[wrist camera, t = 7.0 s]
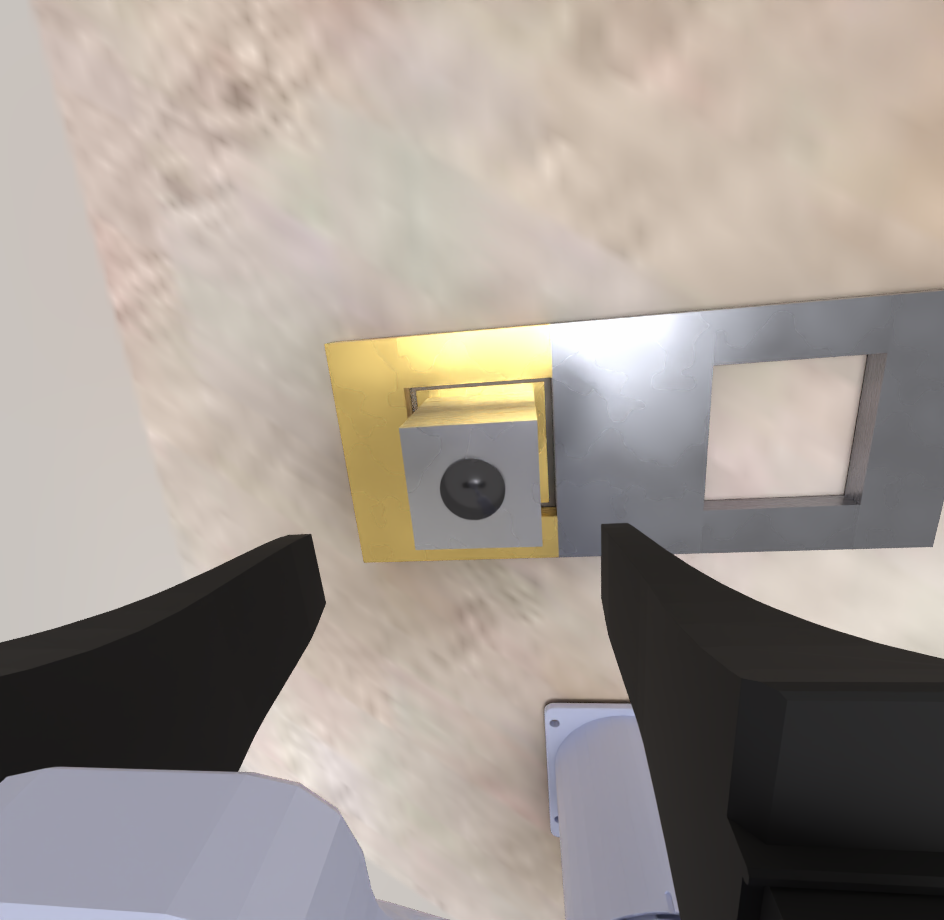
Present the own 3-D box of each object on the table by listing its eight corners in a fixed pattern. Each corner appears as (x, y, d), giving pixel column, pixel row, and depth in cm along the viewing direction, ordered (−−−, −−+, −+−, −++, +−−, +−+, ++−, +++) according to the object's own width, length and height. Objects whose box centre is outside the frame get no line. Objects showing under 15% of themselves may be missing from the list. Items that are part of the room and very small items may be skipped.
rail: (913, 535, 20) (932, 546, 19) (370, 551, 23) (363, 562, 22) (968, 286, 17) (994, 286, 16) (333, 341, 20) (324, 344, 19)
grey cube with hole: (538, 491, 21) (542, 548, 16) (438, 495, 22) (414, 551, 17) (533, 391, 20) (537, 420, 15) (427, 398, 20) (397, 428, 16)
